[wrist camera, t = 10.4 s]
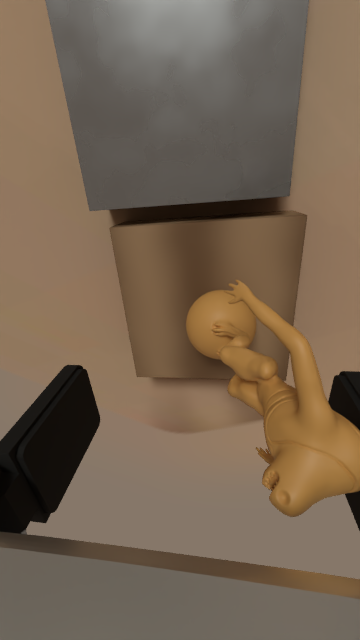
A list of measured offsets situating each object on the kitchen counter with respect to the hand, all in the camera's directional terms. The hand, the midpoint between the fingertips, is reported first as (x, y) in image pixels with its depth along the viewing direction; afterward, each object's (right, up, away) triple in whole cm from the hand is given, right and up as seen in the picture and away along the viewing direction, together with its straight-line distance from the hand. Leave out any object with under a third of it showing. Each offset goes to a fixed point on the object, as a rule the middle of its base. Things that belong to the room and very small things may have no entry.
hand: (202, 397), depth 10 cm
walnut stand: (+1, +5, +10) cm, 11 cm away
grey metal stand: (-1, +16, +5) cm, 16 cm away
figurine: (+3, +4, +7) cm, 8 cm away
